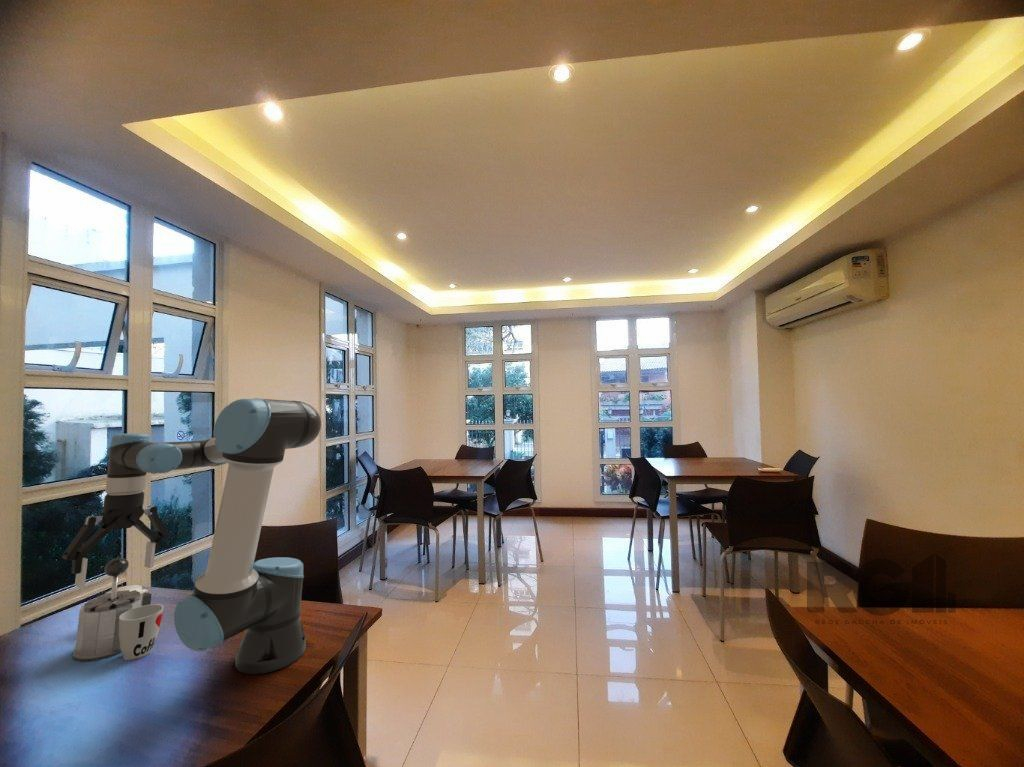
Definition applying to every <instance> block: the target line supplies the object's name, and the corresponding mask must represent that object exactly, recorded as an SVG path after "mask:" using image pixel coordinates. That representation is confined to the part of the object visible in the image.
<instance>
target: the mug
mask: <svg viewBox="0 0 1024 767" xmlns="http://www.w3.org/2000/svg"><path fill="white" fill-rule="evenodd" d="M125 590H130V591H133V590H136V591H138V592H140V593H141V594H143V593H146V592H147V593H149V590H148V589H145V588H143V586H142V585H141V584H131V585H125V586H119V587H117V591H125ZM111 591H112V589H110V590H108V591H107V592H105V593H104V594H108V593H111ZM130 591H129V592H130Z"/></svg>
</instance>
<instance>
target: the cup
mask: <svg viewBox="0 0 1024 767" xmlns="http://www.w3.org/2000/svg"><path fill="white" fill-rule="evenodd" d="M164 607H165V606H164V605H163V604H157V603H156V604H155V603H154V604H151V603H150V605H145V606H140V607H137V608H133V609H131V610H128V611H126V612H124V613H123V614H121V615H120V617H119V641H120V649H121V654H122V658H123V659H124V660H125V661H131V660H132V661H133V660H137V659H140V658H142V657H146V656H147V655H149V654H150V653H151V652H152V650H153V648H154V646H155V643H156V642H157V638H158V635H159V632H160V628H161V624H162V619H163V614H164Z"/></svg>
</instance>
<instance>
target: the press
mask: <svg viewBox="0 0 1024 767" xmlns="http://www.w3.org/2000/svg"><path fill="white" fill-rule="evenodd" d="M129 591H130V590H125V591H117V594H116V600H112V601H110V600H111V593H108V594H105V593H104V594H101V595H98V596H96V598H91V599H89V600H88V601H86V602H85V603H84V604H83V605H82V606H81V608H80V609H79V614H78V623H77V629H76V630H77V631H76V636H75V637H76V640H75V647H74V650H73V652H72V658H73V661H77V662H93V661H99V660H103V659H107V658H110V657H113V656H116V655H118V654H122V652H121V649H120V641H119V617H120V615H121V614H123V613H124V612H126V611H128V610H131V609H133V608H137V607H140V606H145V605H151V602H152V593H150V592H148V593H147V592H146V593H143V594H141V593H140V592H138V591H136V590H133V591H130V592H129ZM112 607H115V609H111V608H112Z"/></svg>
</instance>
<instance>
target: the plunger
mask: <svg viewBox="0 0 1024 767" xmlns="http://www.w3.org/2000/svg"><path fill="white" fill-rule="evenodd" d="M129 565H130V564H129V560H128V559H127V558H124V557H115V558H113V559H111V560H109V561H108V562H107V563H106V564H105V567H104V573H105V575H107V576H109V577H112V583H111V584H112V585H111V590H112V591H111V600H110V601H112V600H116V594H117V588H118V585H119V576H121V575H123V574H124V573H125V572H127V570H128V568H129ZM111 609H115V607H112V608H111Z"/></svg>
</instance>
